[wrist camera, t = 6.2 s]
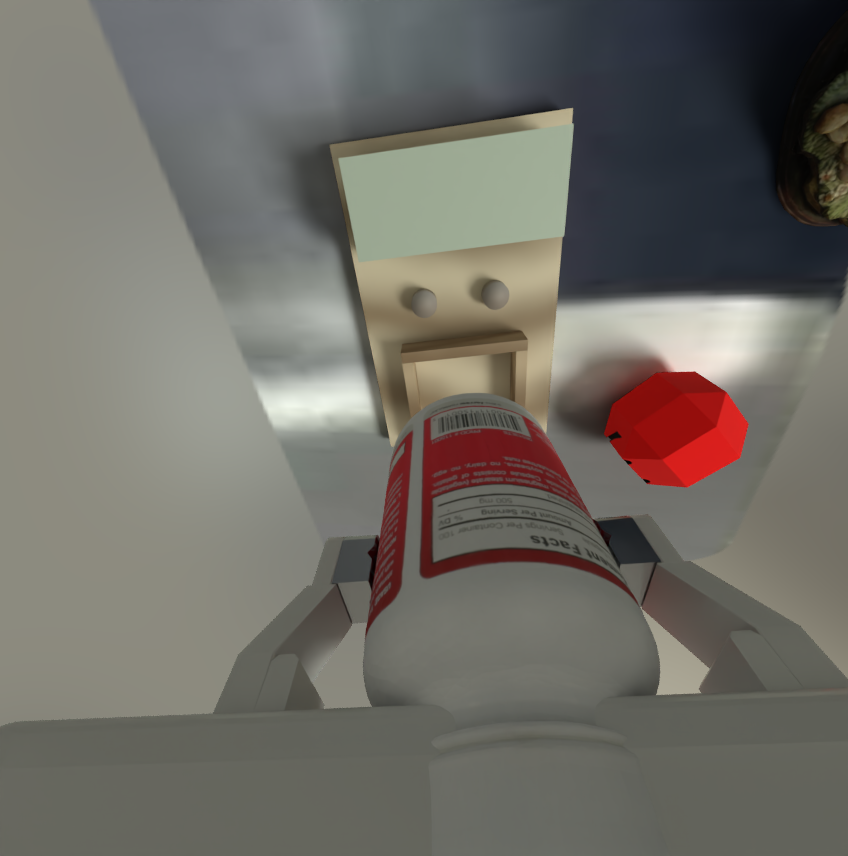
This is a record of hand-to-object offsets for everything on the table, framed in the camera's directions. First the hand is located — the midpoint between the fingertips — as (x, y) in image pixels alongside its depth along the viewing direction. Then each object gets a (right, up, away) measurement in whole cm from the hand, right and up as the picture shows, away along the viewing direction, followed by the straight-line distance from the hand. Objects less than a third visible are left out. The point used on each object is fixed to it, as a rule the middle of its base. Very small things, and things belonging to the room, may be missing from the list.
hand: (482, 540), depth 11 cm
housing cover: (0, +18, +12) cm, 21 cm away
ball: (+18, +5, +21) cm, 28 cm away
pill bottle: (0, +2, +4) cm, 5 cm away
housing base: (+1, +12, +17) cm, 21 cm away
